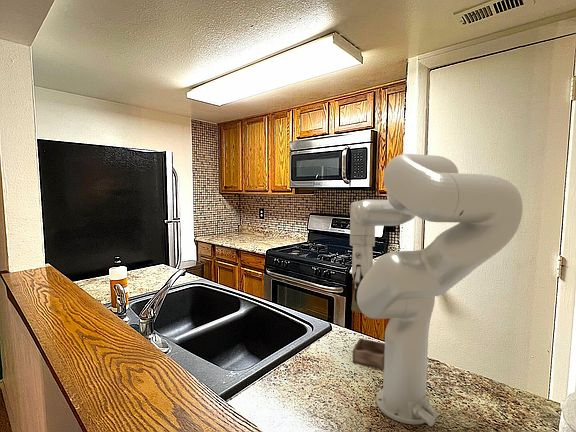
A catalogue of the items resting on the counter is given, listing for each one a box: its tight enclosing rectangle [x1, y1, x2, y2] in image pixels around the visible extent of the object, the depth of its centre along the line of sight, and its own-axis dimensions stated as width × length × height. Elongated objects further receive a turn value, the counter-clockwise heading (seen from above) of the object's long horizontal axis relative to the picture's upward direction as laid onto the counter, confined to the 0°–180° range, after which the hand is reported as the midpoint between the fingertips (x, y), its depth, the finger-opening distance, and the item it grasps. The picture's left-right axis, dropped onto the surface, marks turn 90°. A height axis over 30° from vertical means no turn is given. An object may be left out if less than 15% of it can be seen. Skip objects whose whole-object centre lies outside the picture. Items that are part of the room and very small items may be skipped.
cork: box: [350, 277, 363, 314], centre depth 96 cm, size 6×6×11 cm
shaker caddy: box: [352, 338, 385, 371], centre depth 96 cm, size 9×9×4 cm
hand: (361, 299), depth 96 cm, fingers closed on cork, 3 cm apart
